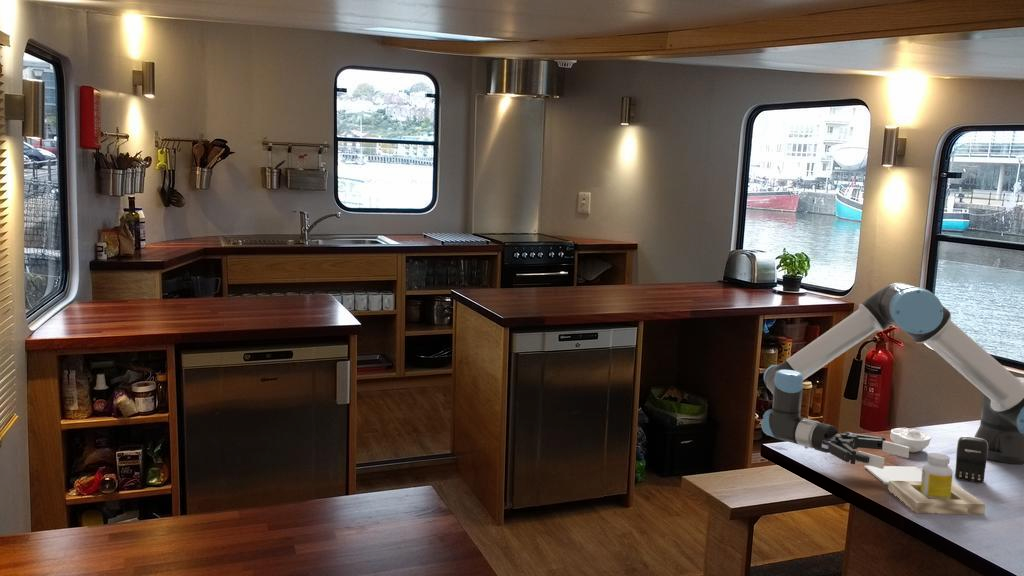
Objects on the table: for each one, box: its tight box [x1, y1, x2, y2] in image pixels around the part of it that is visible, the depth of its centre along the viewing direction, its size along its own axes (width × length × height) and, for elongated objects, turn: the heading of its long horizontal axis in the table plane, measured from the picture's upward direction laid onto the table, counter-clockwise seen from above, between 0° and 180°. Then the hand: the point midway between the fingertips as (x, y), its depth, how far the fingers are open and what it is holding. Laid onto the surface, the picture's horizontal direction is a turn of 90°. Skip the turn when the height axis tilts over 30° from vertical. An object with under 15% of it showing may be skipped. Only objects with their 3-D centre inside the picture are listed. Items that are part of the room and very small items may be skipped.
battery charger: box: [954, 435, 988, 484], centre depth 209 cm, size 7×4×11 cm, turn 61°
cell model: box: [889, 427, 933, 453], centre depth 234 cm, size 10×12×7 cm
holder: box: [887, 481, 986, 515], centre depth 195 cm, size 16×14×2 cm
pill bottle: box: [920, 452, 954, 499], centre depth 194 cm, size 6×6×12 cm
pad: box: [863, 465, 922, 485], centre depth 212 cm, size 14×12×1 cm
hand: (896, 457), depth 202 cm, fingers open, 13 cm apart
